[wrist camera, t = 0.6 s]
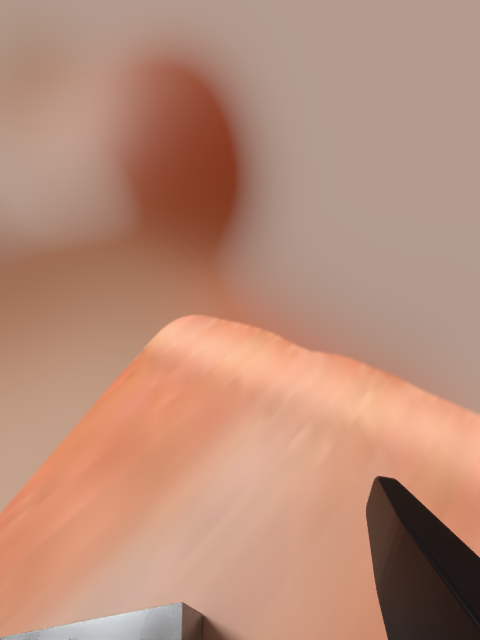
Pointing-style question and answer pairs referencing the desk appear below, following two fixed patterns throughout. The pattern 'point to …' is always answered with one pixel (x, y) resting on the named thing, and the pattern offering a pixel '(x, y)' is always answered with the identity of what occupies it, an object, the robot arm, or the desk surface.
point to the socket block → (129, 626)
